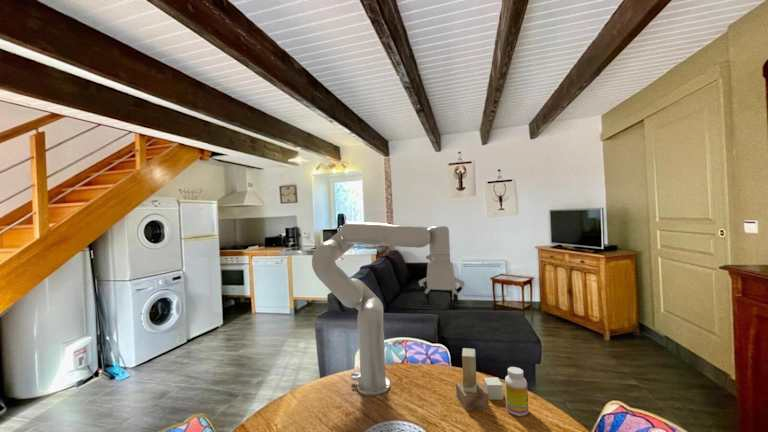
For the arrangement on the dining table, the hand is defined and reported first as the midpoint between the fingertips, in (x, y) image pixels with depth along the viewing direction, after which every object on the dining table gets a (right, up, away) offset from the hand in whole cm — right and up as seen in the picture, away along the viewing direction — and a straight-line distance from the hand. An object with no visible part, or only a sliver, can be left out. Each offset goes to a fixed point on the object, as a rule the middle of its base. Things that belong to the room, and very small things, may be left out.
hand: (442, 303), depth 116 cm
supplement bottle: (+21, -30, -17) cm, 40 cm away
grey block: (+16, -30, -8) cm, 35 cm away
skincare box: (+7, -25, -12) cm, 29 cm away
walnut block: (+8, -30, -12) cm, 33 cm away
